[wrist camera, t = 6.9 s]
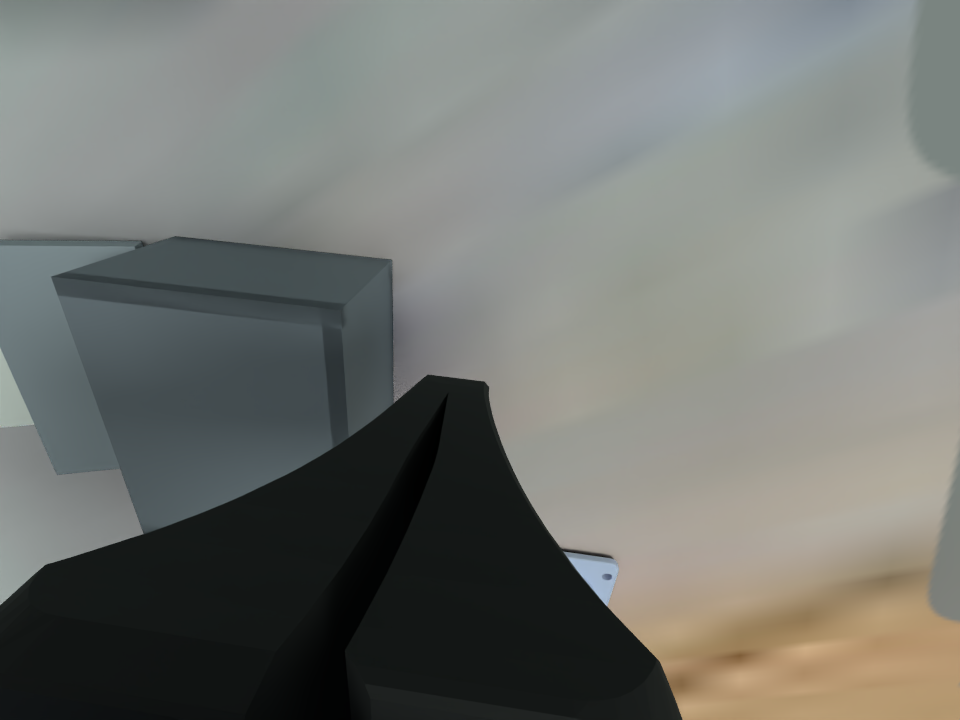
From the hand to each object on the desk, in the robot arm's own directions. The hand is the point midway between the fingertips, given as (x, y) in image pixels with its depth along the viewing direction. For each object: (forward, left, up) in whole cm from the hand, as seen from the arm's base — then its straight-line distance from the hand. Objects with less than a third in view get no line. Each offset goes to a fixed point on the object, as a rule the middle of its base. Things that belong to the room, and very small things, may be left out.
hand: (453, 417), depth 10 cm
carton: (-5, +9, -9) cm, 14 cm away
